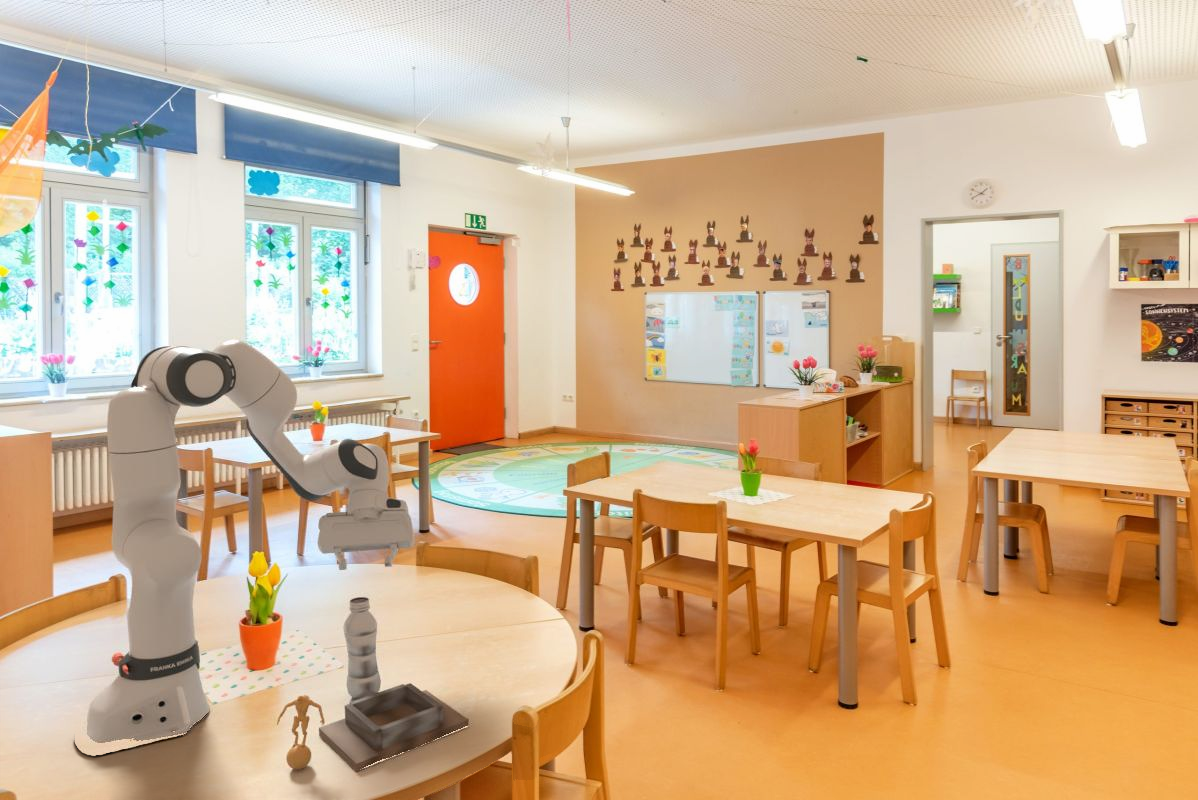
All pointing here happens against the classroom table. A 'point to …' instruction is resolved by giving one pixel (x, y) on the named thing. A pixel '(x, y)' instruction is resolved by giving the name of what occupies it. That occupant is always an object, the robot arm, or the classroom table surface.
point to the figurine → (300, 752)
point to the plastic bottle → (361, 650)
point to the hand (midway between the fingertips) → (365, 567)
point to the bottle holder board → (390, 725)
